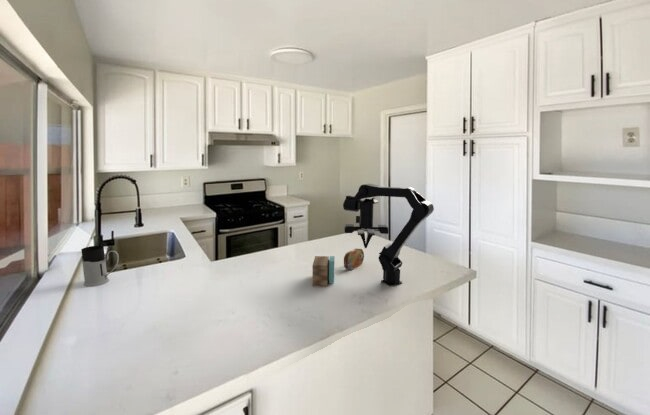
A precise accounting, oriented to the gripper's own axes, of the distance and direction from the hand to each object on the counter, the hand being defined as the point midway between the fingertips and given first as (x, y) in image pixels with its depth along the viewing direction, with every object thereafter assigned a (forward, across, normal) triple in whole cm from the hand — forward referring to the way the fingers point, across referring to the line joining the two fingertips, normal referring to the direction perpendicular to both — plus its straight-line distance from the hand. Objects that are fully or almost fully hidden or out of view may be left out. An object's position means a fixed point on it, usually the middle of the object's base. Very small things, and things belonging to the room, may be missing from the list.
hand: (365, 247), depth 141 cm
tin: (+13, +4, -12) cm, 18 cm away
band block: (+13, +19, +7) cm, 24 cm away
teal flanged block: (+13, +18, +7) cm, 23 cm away
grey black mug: (+14, +110, +14) cm, 112 cm away
